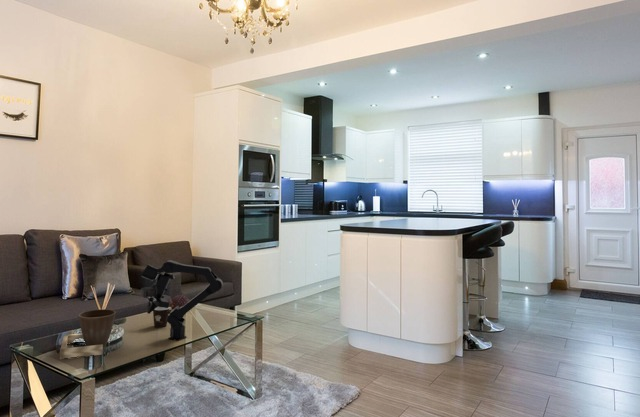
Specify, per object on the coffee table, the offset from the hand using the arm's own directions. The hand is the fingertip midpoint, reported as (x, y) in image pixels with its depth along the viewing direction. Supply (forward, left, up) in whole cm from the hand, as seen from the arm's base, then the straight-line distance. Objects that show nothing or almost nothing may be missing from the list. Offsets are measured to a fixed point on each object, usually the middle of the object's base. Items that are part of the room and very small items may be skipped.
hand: (148, 313), depth 202 cm
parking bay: (+14, +24, -13) cm, 31 cm away
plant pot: (+10, +20, -13) cm, 26 cm away
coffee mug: (+9, -20, -13) cm, 25 cm away
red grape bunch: (+26, -53, -13) cm, 60 cm away
